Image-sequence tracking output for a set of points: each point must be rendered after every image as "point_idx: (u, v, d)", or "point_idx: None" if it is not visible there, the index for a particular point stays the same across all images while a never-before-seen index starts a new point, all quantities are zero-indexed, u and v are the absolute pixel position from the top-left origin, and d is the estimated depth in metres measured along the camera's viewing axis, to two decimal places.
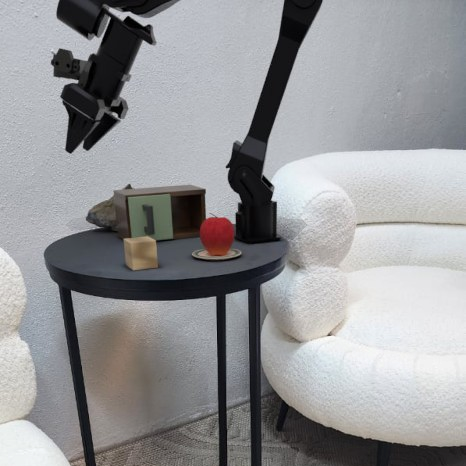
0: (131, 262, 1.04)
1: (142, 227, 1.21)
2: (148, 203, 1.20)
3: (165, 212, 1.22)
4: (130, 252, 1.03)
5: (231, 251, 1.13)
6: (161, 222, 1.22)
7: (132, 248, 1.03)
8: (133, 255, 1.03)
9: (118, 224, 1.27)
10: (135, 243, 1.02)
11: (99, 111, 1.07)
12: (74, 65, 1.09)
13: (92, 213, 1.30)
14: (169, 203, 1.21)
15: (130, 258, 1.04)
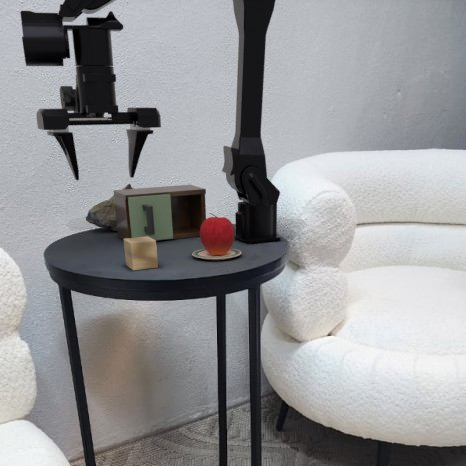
0: (131, 262, 1.04)
1: (142, 227, 1.21)
2: (148, 203, 1.20)
3: (165, 212, 1.22)
4: (130, 252, 1.03)
5: (231, 251, 1.13)
6: (161, 222, 1.22)
7: (132, 248, 1.03)
8: (133, 255, 1.03)
9: (118, 224, 1.27)
10: (135, 243, 1.02)
11: (50, 119, 1.03)
12: (69, 96, 1.09)
13: (92, 213, 1.30)
14: (169, 203, 1.21)
15: (130, 258, 1.04)
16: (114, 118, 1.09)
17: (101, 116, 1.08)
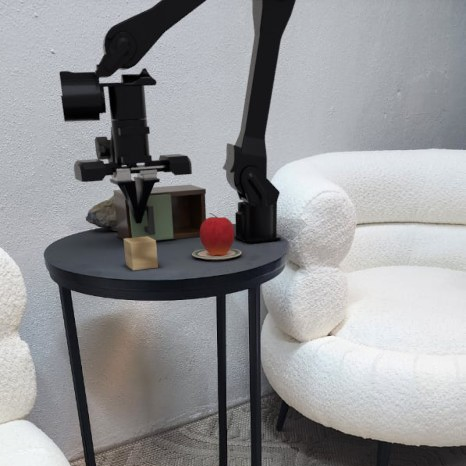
0: (131, 262, 1.04)
1: (142, 227, 1.21)
2: (148, 203, 1.20)
3: (165, 212, 1.22)
4: (130, 252, 1.03)
5: (231, 251, 1.13)
6: (161, 222, 1.22)
7: (132, 248, 1.03)
8: (133, 255, 1.03)
9: (118, 224, 1.27)
10: (135, 243, 1.02)
11: (88, 172, 1.08)
12: (104, 146, 1.14)
13: (92, 213, 1.30)
14: (170, 203, 1.21)
15: (130, 258, 1.04)
16: None
17: (160, 164, 1.14)
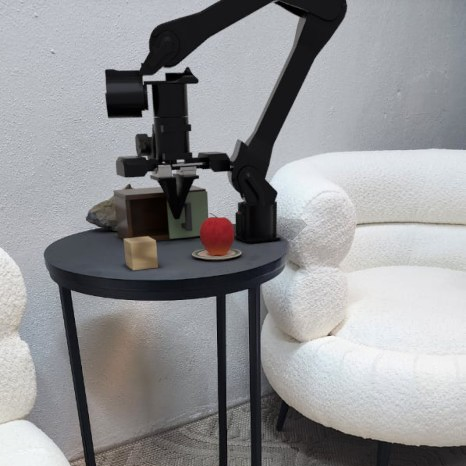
0: (131, 262, 1.04)
1: (179, 223, 1.23)
2: (186, 200, 1.22)
3: (202, 209, 1.24)
4: (130, 252, 1.03)
5: (231, 251, 1.13)
6: (198, 219, 1.24)
7: (132, 248, 1.03)
8: (133, 255, 1.03)
9: (118, 224, 1.27)
10: (135, 243, 1.02)
11: (131, 168, 1.10)
12: (145, 143, 1.16)
13: (92, 213, 1.30)
14: (206, 200, 1.23)
15: (130, 258, 1.04)
16: (162, 165, 1.15)
17: (200, 161, 1.17)
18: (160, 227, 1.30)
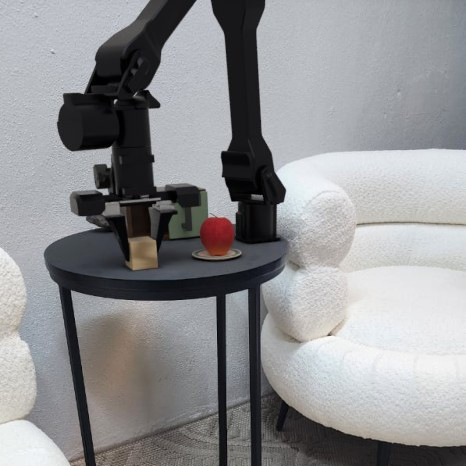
0: (131, 262, 1.04)
1: (179, 223, 1.23)
2: None
3: (202, 209, 1.24)
4: (130, 252, 1.03)
5: (231, 251, 1.13)
6: (198, 219, 1.24)
7: (132, 248, 1.03)
8: (133, 255, 1.03)
9: None
10: (135, 243, 1.02)
11: (85, 205, 0.96)
12: (103, 175, 1.02)
13: None
14: (206, 200, 1.23)
15: (130, 259, 1.04)
16: None
17: (154, 196, 1.02)
18: None
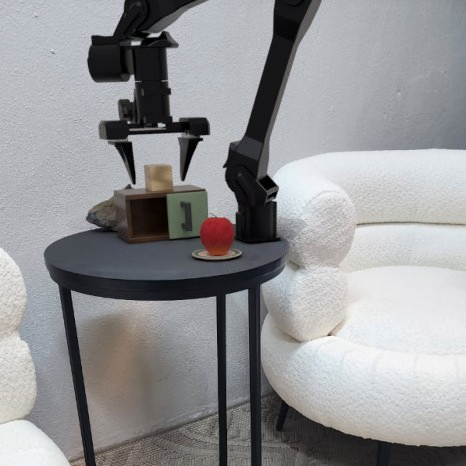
0: (150, 184, 1.22)
1: (179, 223, 1.23)
2: (186, 200, 1.22)
3: (202, 209, 1.24)
4: (150, 175, 1.21)
5: (231, 251, 1.13)
6: (198, 219, 1.24)
7: (151, 171, 1.20)
8: (152, 178, 1.21)
9: (118, 224, 1.27)
10: (154, 167, 1.20)
11: (113, 130, 1.14)
12: (127, 108, 1.20)
13: (92, 213, 1.30)
14: (206, 200, 1.23)
15: (149, 181, 1.22)
16: (168, 127, 1.19)
17: (156, 126, 1.19)
18: (160, 227, 1.30)
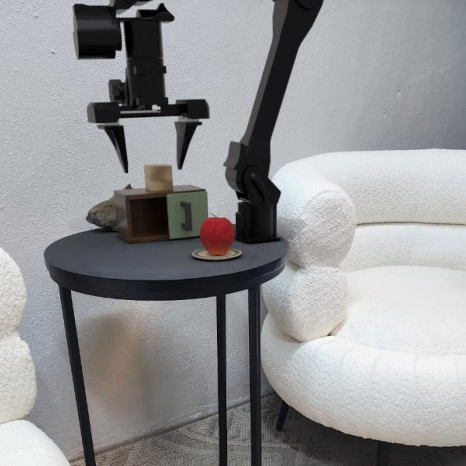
0: (150, 184, 1.22)
1: (179, 223, 1.23)
2: (186, 200, 1.22)
3: (202, 209, 1.24)
4: (150, 175, 1.21)
5: (231, 251, 1.13)
6: (198, 219, 1.24)
7: (151, 171, 1.20)
8: (152, 178, 1.21)
9: (118, 224, 1.27)
10: (154, 167, 1.20)
11: (102, 112, 1.03)
12: (118, 89, 1.09)
13: (92, 213, 1.30)
14: (206, 200, 1.23)
15: (149, 181, 1.22)
16: (163, 110, 1.09)
17: (151, 108, 1.08)
18: (160, 227, 1.30)
